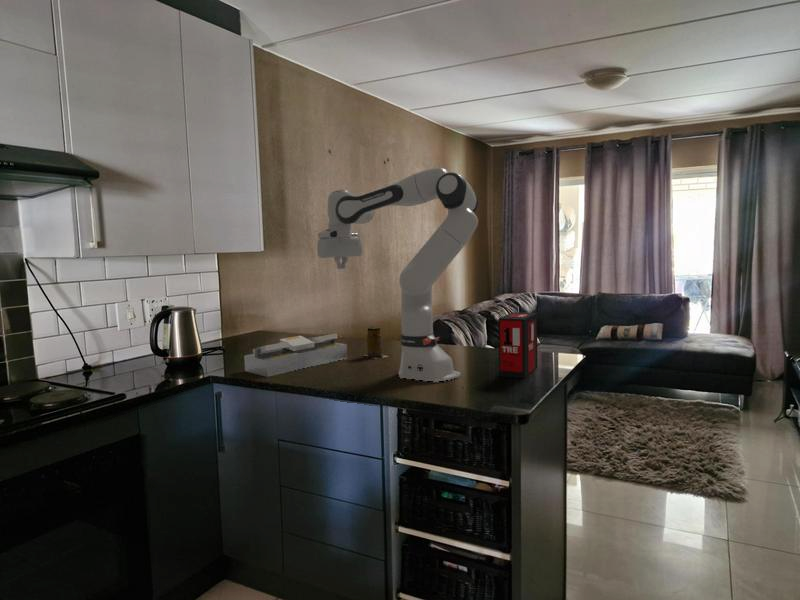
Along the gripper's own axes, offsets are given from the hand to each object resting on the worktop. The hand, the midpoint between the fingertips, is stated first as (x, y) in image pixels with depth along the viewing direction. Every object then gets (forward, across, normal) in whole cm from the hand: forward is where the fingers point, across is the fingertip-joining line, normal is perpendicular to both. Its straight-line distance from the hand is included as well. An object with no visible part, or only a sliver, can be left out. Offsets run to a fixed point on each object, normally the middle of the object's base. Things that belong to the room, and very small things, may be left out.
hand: (341, 268), depth 216 cm
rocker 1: (+28, +26, -12) cm, 40 cm away
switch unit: (+37, +14, -12) cm, 41 cm away
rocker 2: (+28, +14, -12) cm, 34 cm away
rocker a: (+28, +2, -12) cm, 31 cm away
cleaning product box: (+37, -26, +63) cm, 78 cm away
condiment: (+37, -15, +2) cm, 40 cm away
